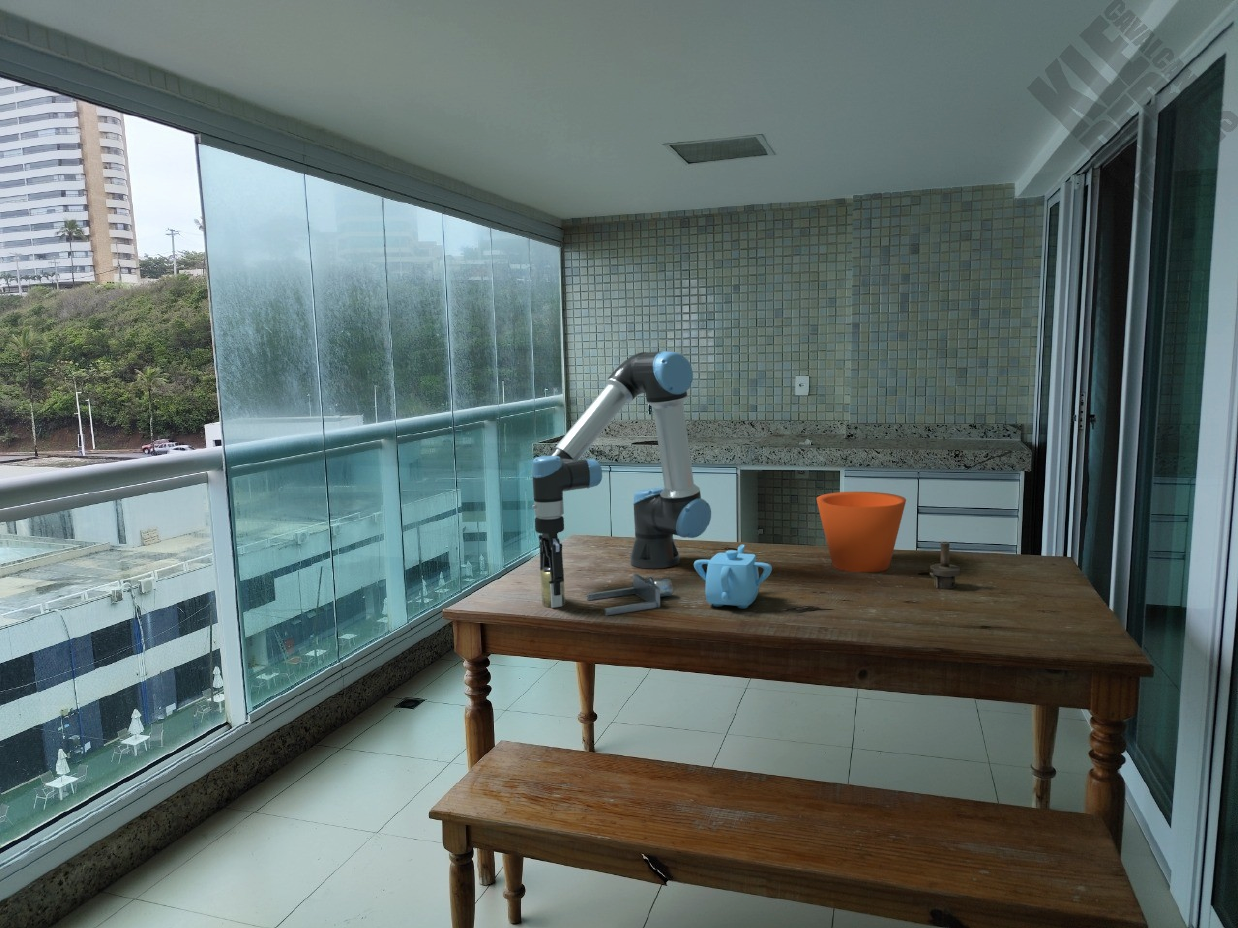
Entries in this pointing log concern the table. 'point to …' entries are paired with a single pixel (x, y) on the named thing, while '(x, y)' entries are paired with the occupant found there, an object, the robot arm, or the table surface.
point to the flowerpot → (861, 528)
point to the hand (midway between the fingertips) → (553, 602)
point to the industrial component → (944, 570)
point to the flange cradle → (642, 588)
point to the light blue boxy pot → (732, 578)
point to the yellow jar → (547, 589)
